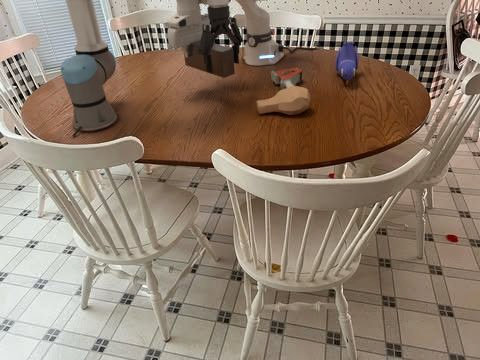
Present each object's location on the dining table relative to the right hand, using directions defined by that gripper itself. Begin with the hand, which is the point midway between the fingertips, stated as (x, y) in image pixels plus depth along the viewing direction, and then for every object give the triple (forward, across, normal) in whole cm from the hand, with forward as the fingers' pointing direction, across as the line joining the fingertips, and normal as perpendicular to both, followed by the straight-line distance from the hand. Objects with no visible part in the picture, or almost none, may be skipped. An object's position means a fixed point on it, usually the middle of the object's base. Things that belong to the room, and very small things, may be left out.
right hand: (194, 54), depth 143 cm
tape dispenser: (+16, -27, +26) cm, 41 cm away
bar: (+4, 0, +8) cm, 9 cm away
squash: (+16, -8, +40) cm, 44 cm away
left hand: (+2, 0, +17) cm, 17 cm away
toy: (+16, -50, +40) cm, 66 cm away
